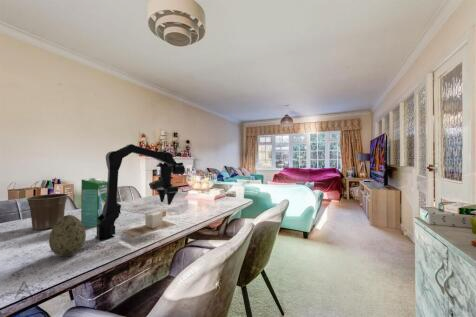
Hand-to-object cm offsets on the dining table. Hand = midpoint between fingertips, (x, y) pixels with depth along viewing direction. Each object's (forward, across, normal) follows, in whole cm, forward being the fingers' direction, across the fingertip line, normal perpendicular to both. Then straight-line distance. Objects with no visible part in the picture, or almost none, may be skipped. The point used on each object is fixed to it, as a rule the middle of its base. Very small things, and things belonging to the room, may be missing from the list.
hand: (165, 203), depth 117 cm
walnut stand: (+12, +2, -9) cm, 15 cm away
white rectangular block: (+11, 0, -5) cm, 12 cm away
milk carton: (+12, -26, -28) cm, 41 cm away
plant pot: (+12, -37, -48) cm, 62 cm away
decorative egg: (+12, +11, -43) cm, 46 cm away
